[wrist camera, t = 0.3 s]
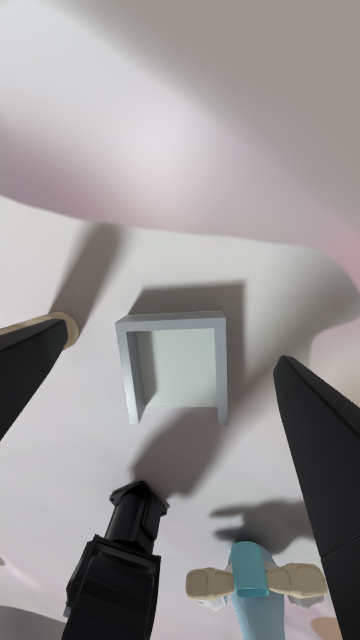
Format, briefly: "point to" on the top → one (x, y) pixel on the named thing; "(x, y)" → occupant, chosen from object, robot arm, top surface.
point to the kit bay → (174, 361)
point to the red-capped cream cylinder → (70, 322)
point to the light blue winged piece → (257, 589)
